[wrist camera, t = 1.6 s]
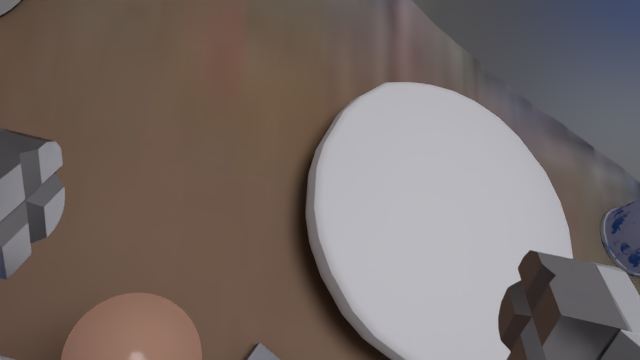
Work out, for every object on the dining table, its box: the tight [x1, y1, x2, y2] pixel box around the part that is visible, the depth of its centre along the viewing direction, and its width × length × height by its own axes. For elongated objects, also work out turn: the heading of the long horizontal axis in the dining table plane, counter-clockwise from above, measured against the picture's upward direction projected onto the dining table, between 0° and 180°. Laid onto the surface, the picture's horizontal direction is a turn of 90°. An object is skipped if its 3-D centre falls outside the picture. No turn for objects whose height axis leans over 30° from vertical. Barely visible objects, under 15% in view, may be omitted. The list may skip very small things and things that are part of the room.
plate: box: [305, 82, 573, 360], centre depth 48 cm, size 28×6×27 cm
